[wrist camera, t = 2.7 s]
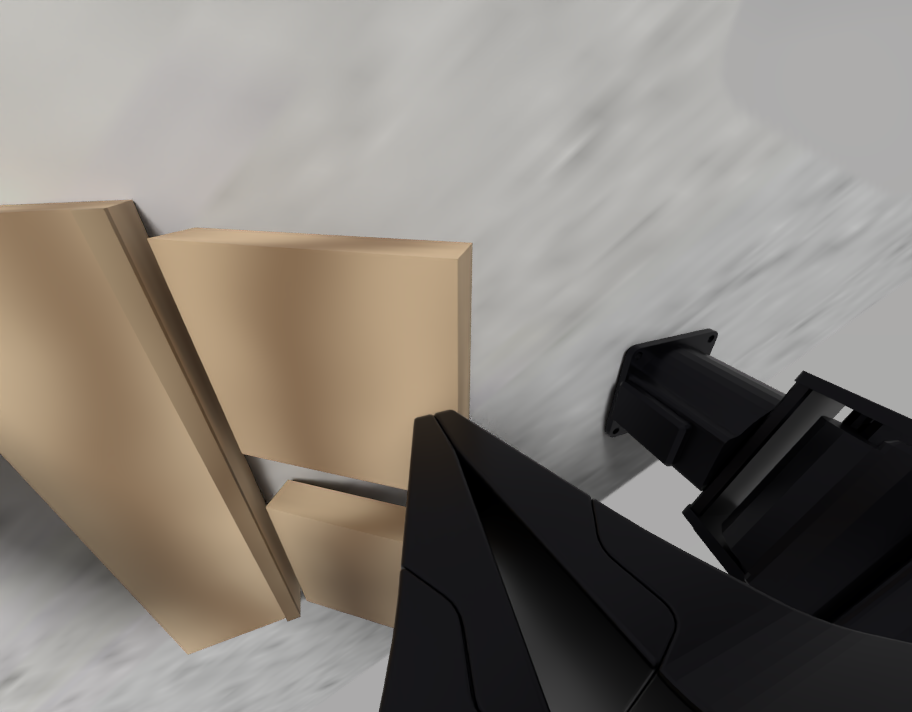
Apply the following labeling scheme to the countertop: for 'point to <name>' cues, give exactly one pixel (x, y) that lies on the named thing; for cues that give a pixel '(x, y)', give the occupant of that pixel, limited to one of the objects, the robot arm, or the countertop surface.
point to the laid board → (130, 424)
